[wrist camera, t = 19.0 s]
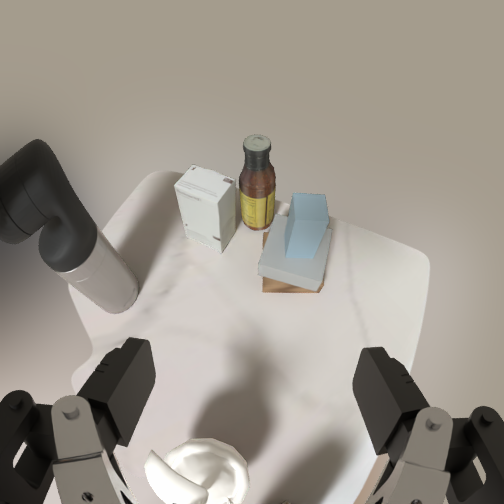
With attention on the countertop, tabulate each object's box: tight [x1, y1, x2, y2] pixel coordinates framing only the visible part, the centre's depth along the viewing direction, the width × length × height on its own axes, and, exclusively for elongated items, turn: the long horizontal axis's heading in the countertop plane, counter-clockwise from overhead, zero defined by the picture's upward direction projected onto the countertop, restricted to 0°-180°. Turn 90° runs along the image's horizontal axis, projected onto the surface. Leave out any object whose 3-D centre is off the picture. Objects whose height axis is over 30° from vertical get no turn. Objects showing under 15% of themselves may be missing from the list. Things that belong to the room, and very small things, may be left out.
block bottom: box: [263, 232, 324, 293], centre depth 49 cm, size 10×10×4 cm
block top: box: [258, 214, 333, 291], centre depth 46 cm, size 10×10×4 cm
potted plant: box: [144, 438, 250, 504], centre depth 22 cm, size 13×12×25 cm
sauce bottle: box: [239, 135, 276, 230], centre depth 47 cm, size 7×6×20 cm
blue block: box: [284, 193, 329, 259], centre depth 39 cm, size 4×4×10 cm
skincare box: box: [174, 164, 236, 253], centre depth 47 cm, size 8×6×15 cm
